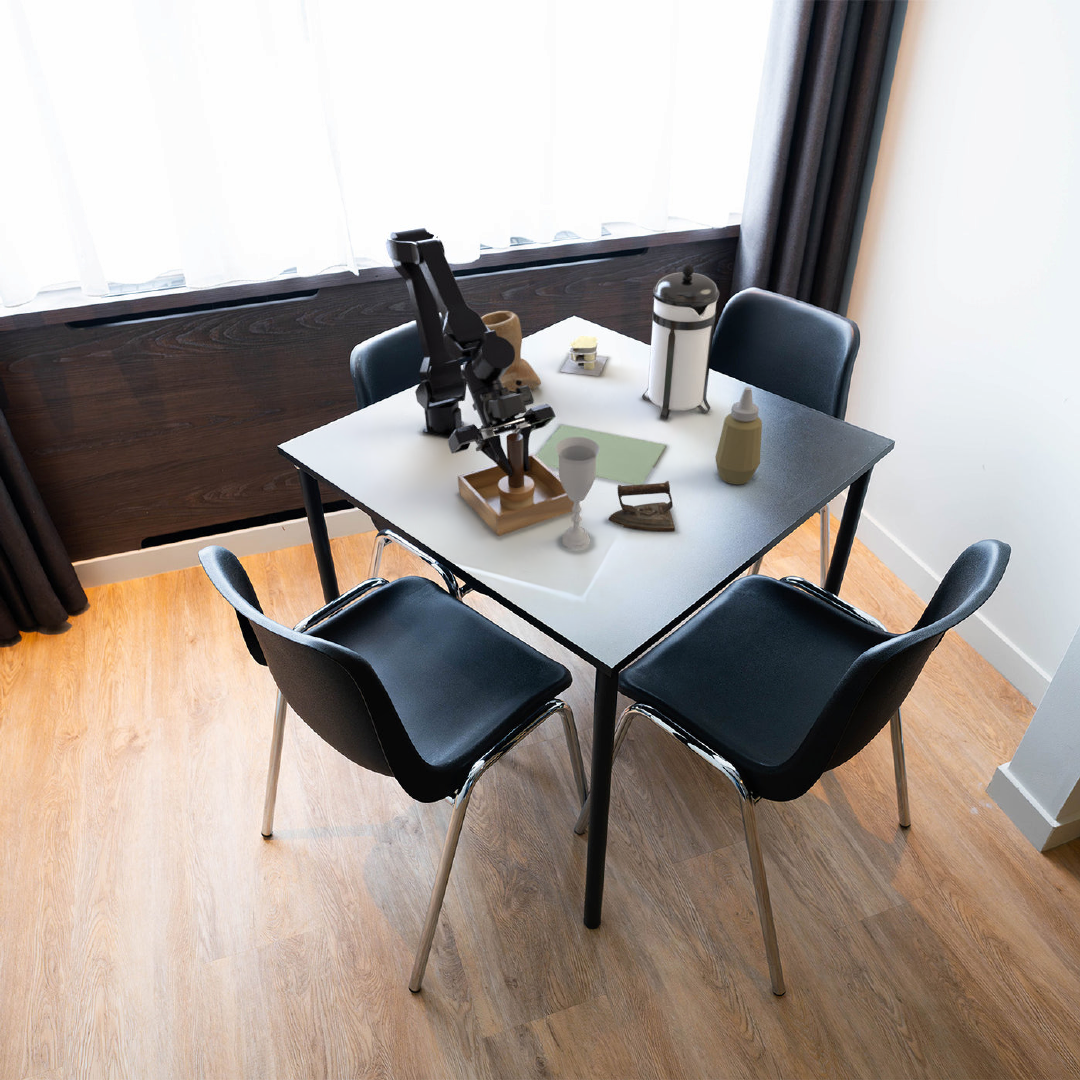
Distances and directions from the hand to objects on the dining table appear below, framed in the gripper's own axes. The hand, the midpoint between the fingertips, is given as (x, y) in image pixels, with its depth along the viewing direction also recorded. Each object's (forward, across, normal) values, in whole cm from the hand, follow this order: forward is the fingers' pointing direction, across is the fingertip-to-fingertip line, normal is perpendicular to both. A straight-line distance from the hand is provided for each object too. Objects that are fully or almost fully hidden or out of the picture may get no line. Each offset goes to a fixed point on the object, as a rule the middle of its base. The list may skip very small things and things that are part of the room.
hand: (519, 474), depth 145 cm
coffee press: (-8, +47, +17) cm, 50 cm away
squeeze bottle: (+13, +39, -4) cm, 41 cm away
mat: (-1, +22, +10) cm, 24 cm away
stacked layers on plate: (-26, +41, +36) cm, 60 cm away
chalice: (+15, +3, -5) cm, 16 cm away
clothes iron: (+15, +16, -5) cm, 22 cm away
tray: (+4, 0, +6) cm, 7 cm away
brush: (+4, 0, +6) cm, 7 cm away
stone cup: (-27, +22, +37) cm, 51 cm away
